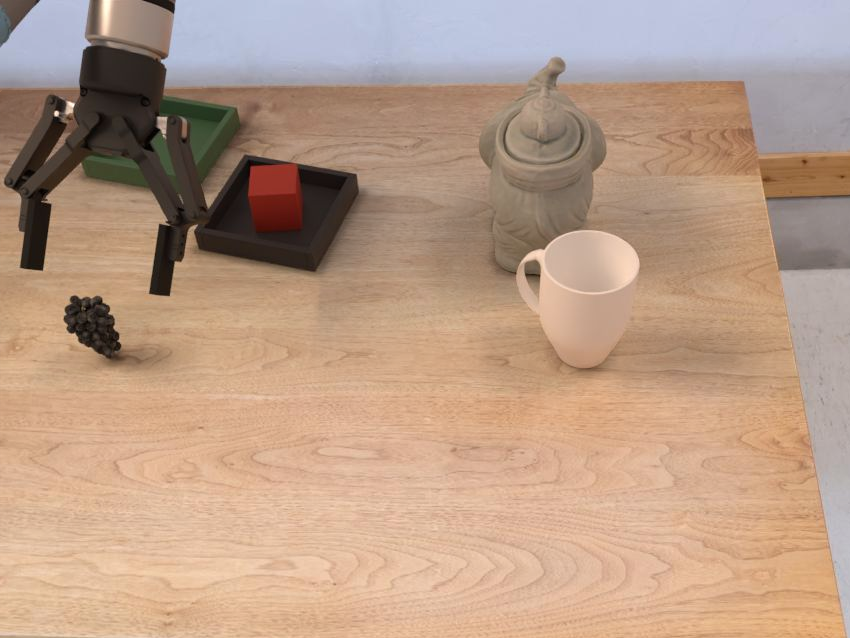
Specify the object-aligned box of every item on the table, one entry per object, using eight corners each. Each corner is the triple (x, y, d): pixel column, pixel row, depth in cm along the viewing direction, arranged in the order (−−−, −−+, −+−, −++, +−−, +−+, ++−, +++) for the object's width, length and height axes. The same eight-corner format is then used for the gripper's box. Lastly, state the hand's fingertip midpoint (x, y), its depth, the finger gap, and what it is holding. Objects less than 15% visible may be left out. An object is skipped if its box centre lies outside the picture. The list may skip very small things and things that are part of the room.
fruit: (82, 378, 110) (57, 320, 104) (81, 346, 113) (57, 288, 106) (129, 369, 110) (108, 312, 104) (127, 338, 113) (106, 280, 107)
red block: (255, 232, 122) (248, 195, 118) (258, 202, 125) (250, 166, 121) (301, 229, 122) (295, 193, 118) (302, 200, 125) (296, 163, 121)
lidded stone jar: (536, 168, 128) (543, 16, 113) (642, 226, 122) (664, 73, 107) (437, 240, 121) (430, 88, 106) (544, 306, 114) (552, 154, 100)
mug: (642, 340, 111) (656, 248, 102) (600, 397, 107) (611, 307, 97) (539, 297, 115) (544, 205, 106) (495, 351, 111) (496, 260, 101)
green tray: (85, 176, 129) (79, 158, 127) (139, 108, 137) (133, 89, 135) (192, 196, 127) (188, 177, 125) (241, 125, 135) (237, 107, 132)
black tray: (198, 249, 121) (193, 231, 119) (248, 172, 129) (244, 153, 127) (315, 272, 118) (312, 253, 116) (359, 192, 126) (356, 173, 124)
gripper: (266, 81, 104) (231, 307, 107) (30, 45, 109) (3, 261, 112) (233, 63, 97) (196, 305, 100) (-18, 24, 102) (-46, 256, 105)
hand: (94, 282), depth 106 cm, fingers open, 13 cm apart
